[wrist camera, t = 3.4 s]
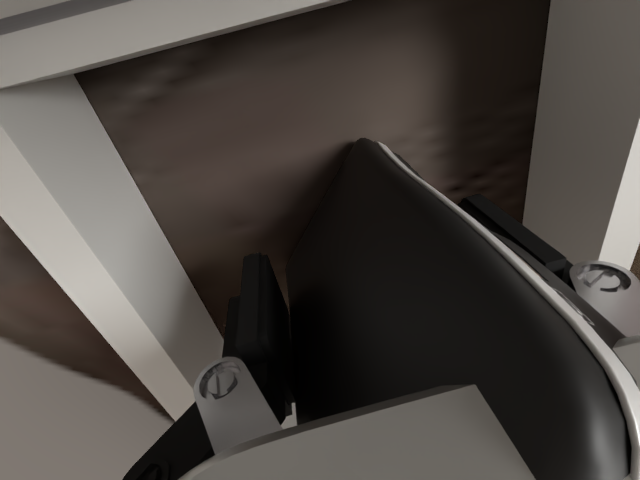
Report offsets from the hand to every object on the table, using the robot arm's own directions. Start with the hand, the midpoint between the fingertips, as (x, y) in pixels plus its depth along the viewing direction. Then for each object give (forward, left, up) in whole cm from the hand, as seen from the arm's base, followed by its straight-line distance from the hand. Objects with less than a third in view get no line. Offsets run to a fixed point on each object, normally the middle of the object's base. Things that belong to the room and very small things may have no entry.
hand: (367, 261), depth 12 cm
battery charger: (0, 0, -3) cm, 3 cm away
